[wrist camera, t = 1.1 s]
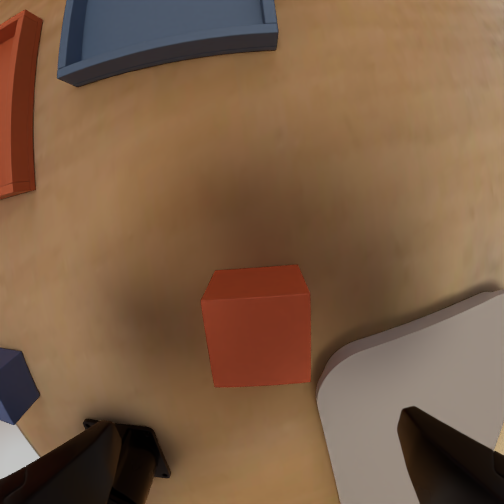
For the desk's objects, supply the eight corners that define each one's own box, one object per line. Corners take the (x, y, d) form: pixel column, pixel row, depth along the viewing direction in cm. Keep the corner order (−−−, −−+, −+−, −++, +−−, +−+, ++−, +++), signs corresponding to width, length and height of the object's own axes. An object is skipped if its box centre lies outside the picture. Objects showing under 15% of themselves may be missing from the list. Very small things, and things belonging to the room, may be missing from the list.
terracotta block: (300, 337, 18) (310, 382, 14) (224, 342, 19) (214, 387, 14) (298, 264, 17) (310, 292, 13) (214, 270, 18) (200, 300, 13)
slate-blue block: (40, 395, 21) (14, 425, 16) (9, 388, 21) (-17, 413, 16) (21, 351, 20) (-11, 378, 15) (-9, 346, 20) (-39, 368, 15)
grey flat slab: (508, 270, 17) (527, 279, 15) (472, 471, 22) (480, 483, 20) (302, 346, 18) (307, 366, 16) (344, 521, 24) (347, 536, 22)
